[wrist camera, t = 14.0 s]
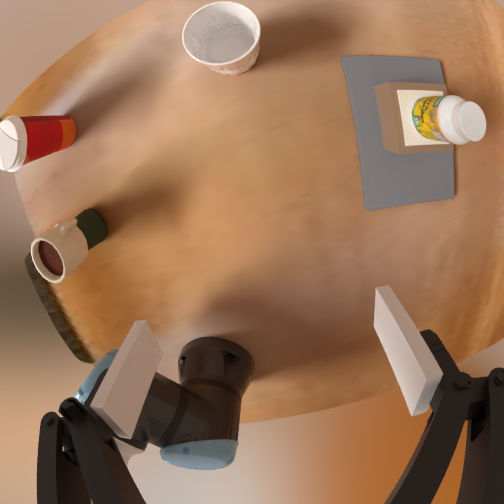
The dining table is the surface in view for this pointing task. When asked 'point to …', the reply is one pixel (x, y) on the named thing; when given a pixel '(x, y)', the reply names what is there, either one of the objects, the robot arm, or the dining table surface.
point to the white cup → (223, 37)
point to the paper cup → (33, 138)
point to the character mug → (67, 245)
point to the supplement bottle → (448, 119)
